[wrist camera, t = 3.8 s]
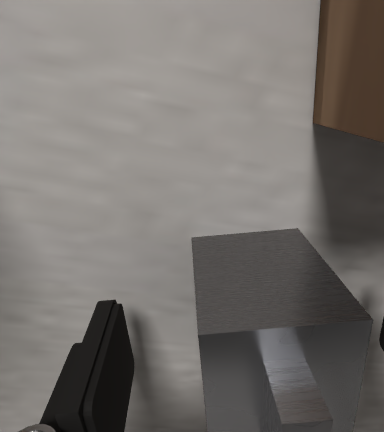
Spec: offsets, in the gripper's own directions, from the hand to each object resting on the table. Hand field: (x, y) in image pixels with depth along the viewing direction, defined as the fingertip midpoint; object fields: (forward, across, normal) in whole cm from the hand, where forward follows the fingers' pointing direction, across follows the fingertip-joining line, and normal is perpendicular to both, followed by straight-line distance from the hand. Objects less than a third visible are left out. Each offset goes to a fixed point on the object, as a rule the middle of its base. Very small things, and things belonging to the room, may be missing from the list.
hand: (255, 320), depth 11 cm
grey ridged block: (+2, 0, 0) cm, 2 cm away
